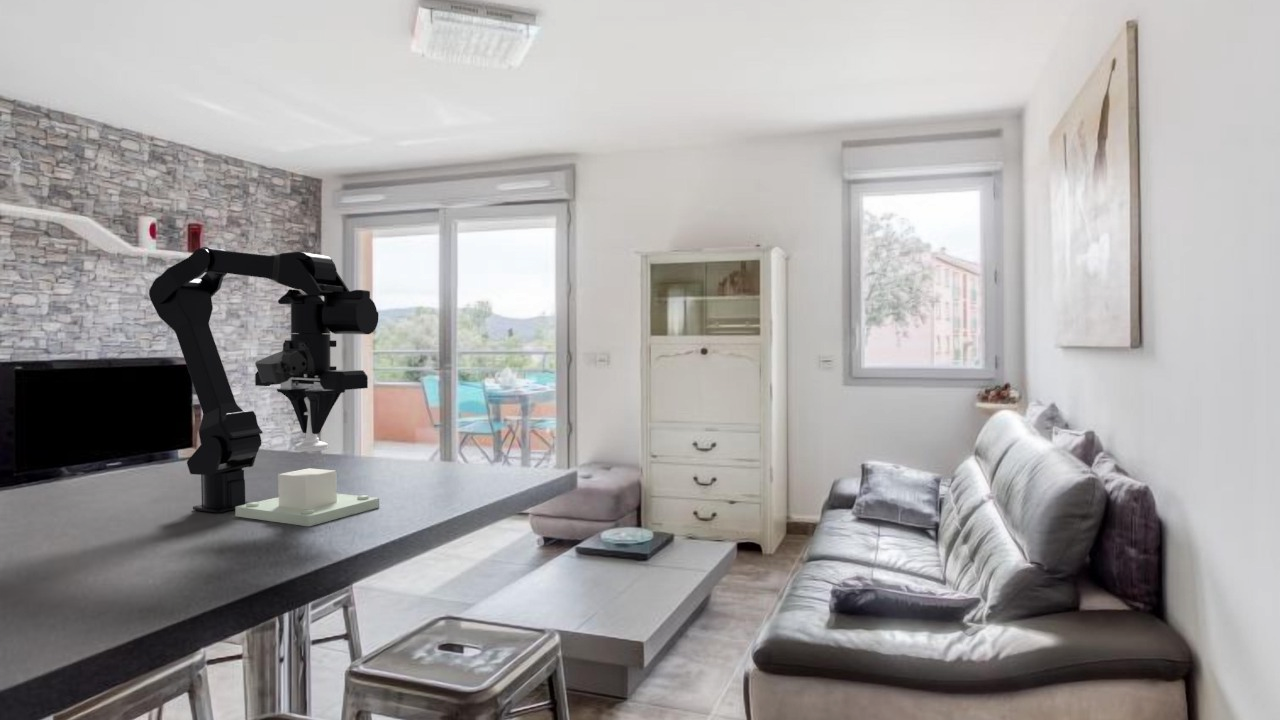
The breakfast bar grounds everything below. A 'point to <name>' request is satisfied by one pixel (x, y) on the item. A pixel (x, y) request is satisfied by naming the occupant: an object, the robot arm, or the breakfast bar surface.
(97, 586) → the breakfast bar surface
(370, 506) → the baseplate
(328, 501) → the brick
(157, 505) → the breakfast bar surface
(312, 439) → the chess piece
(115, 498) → the breakfast bar surface
